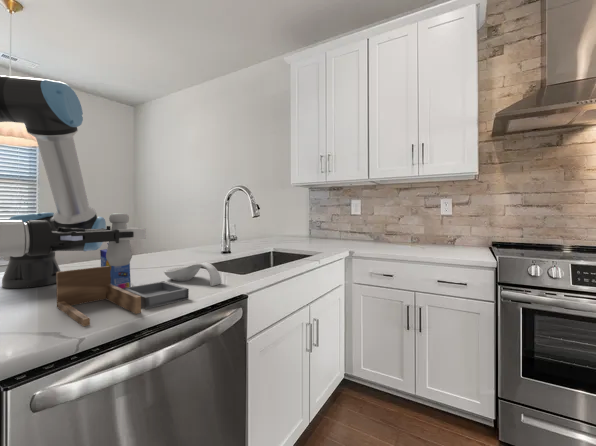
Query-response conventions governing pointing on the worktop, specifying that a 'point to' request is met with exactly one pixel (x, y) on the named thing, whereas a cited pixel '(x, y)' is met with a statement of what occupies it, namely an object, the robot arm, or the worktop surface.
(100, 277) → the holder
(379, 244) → the worktop surface
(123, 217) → the salt shaker
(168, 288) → the tray
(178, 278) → the spoon rest
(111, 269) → the ink cartridge box
